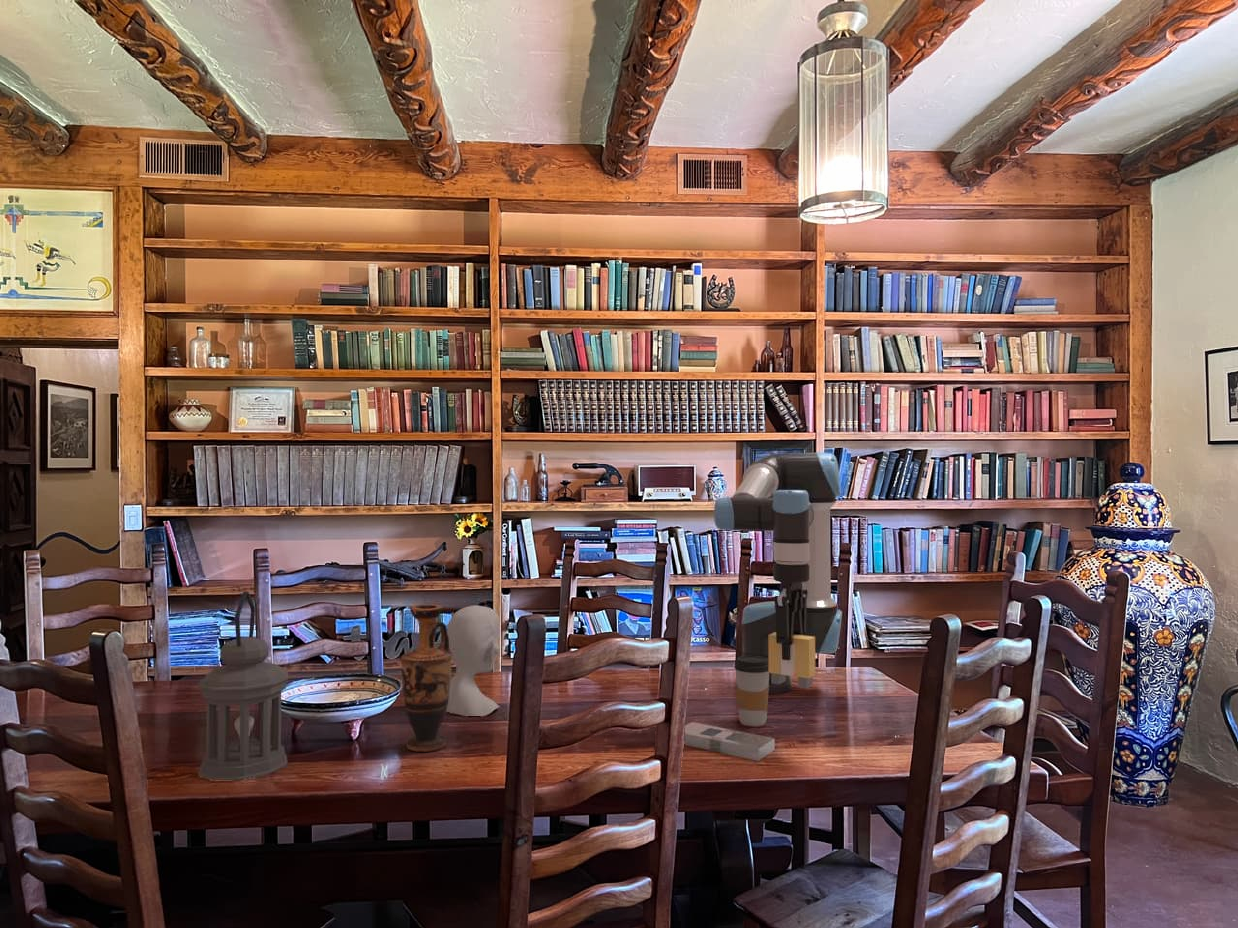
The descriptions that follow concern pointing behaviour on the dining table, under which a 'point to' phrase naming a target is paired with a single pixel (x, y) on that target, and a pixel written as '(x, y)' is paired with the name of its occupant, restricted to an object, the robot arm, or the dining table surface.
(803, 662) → the yellow block
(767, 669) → the coffee cup
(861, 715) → the dining table surface
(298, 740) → the dining table surface
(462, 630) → the head bust
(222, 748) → the lantern
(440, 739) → the vase
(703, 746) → the grey slotted base plate
